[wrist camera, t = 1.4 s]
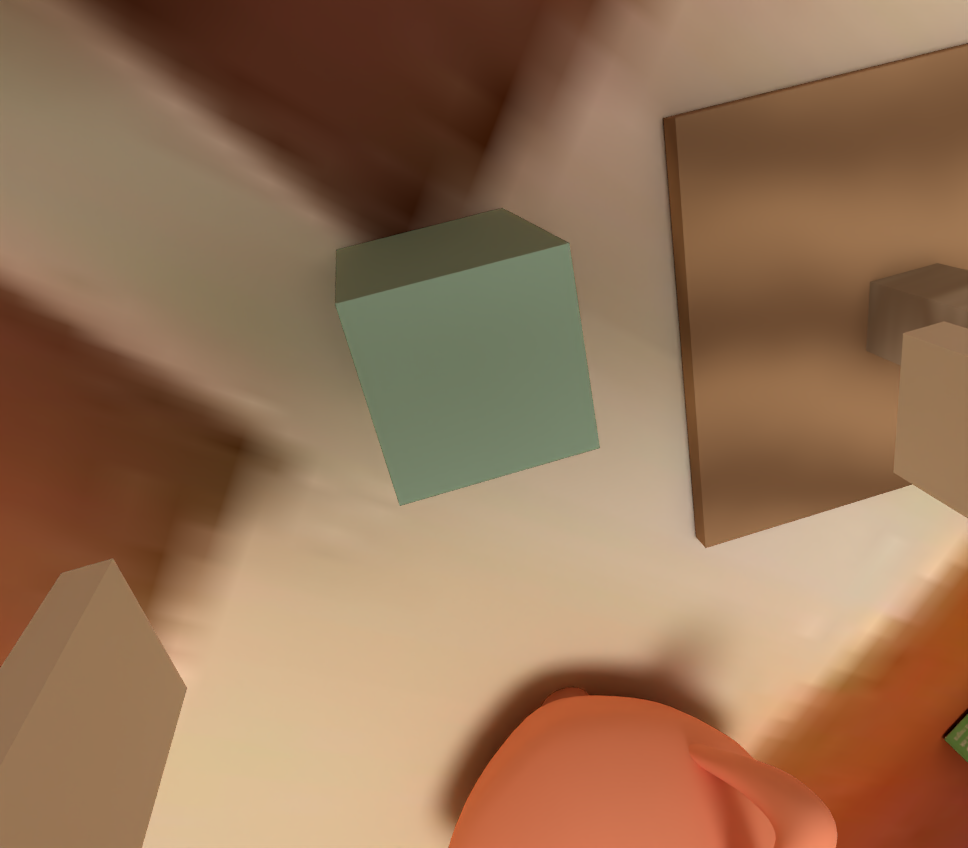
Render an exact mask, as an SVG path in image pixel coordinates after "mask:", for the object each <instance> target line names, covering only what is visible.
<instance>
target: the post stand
mask: <svg viewBox="0 0 968 848" xmlns="http://www.w3.org/2000/svg"><path fill="white" fill-rule="evenodd" d="M663 121H664V134H665V147H666V160H667V172H668V185H669V198H670V211H671V223H672V236H673V249H674V262H675V274H676V287H677V300H678V313H679V325H680V338H681V351H682V364H683V376H684V389H685V402H686V415H687V427H688V440H689V453H690V466H691V478H692V491H693V504H694V517H695V530H696V537H697V538H698V540H699V541H700V542H701V543H702V544H703V545H704V547H705V548H707V547H711V546H714V545H717V544H720V543H724V542H727V541H730V540H733V539H737V538H740V537H743V536H746V535H750V534H753V533H756V532H759V531H762V530H766V529H769V528H772V527H775V526H779V525H782V524H785V523H788V522H792V521H795V520H798V519H801V518H805V517H808V516H811V515H814V514H818V513H821V512H824V511H827V510H831V509H834V508H837V507H840V506H844V505H847V504H850V503H853V502H857V501H860V500H863V499H866V498H870V497H873V496H876V495H879V494H883V493H886V492H889V491H892V490H896V489H899V488H902V487H905V486H909V485H912V484H911V483H910V482H908V481H906V480H905V479H903V478H902V477H900V476H898V475H897V474H895V473H893V472H894V458H895V443H896V429H897V415H898V400H899V386H900V372H901V358H902V343H903V333H905V332H909V331H912V330H916V329H919V328H923V327H926V326H930V325H933V324H937V323H940V322H944V321H945V322H948V323H951V324H955V325H958V326H961V327H964V328H967V329H968V43H967V44H963V45H959V46H955V47H951V48H947V49H943V50H938V51H934V52H930V53H926V54H922V55H918V56H914V57H910V58H906V59H902V60H898V61H894V62H890V63H886V64H882V65H877V66H873V67H869V68H865V69H861V70H857V71H853V72H849V73H845V74H841V75H837V76H833V77H829V78H825V79H821V80H816V81H812V82H808V83H804V84H800V85H796V86H792V87H788V88H784V89H780V90H776V91H772V92H768V93H764V94H760V95H755V96H751V97H747V98H743V99H739V100H735V101H731V102H727V103H723V104H719V105H715V106H711V107H707V108H703V109H699V110H694V111H690V112H686V113H682V114H678V115H674V116H670V117H666V118H663Z"/></svg>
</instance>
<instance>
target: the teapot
mask: <svg viewBox="0 0 968 848" xmlns="http://www.w3.org/2000/svg"><path fill="white" fill-rule="evenodd" d="M836 842H837V830H836V824H835V821H834V819H833V817H832V815H831V813H830V810H829V809H828V808H827V806H826V805H825V804H824V803H823V802H822V800H821V799H820V798H819V797H818V796H817V795H816V794H815V793H813V792H812V791H811V790H810V789H809V788H808V787H807V786H806V785H804V784H803V783H801V782H800V781H799V780H797V779H796V778H795V777H793V776H792V775H790V774H788V773H786V772H784V771H782V770H780V769H778V768H776V767H773V766H771V765H768V764H766V763H763V762H760V761H757V760H754V759H753V758H752V757H751V756H750V755H749V754H748V753H747V752H746V751H745V750H744V749H743V748H742V747H741V746H740V745H739V744H738V743H737V742H735V741H734V740H733V739H731V738H730V737H728V736H727V735H725V734H724V733H722V732H720V731H719V730H717V729H715V728H713V727H712V726H710V725H708V724H706V723H704V722H703V721H701V720H699V719H697V718H695V717H693V716H691V715H688V714H686V713H684V712H682V711H679V710H677V709H675V708H673V707H670V706H667V705H664V704H661V703H658V702H654V701H649V700H645V699H638V698H631V697H620V696H600V695H589V694H588V693H587V692H586V691H584V690H583V689H580V688H576V687H568V688H563V689H560V690H558V691H556V692H554V693H552V694H551V695H550V696H548V697H547V698H546V699H545V701H544V702H543V704H542V706H541V707H540V708H538V709H537V710H535V711H534V712H533V713H532V714H530V715H529V716H528V717H526V718H525V720H524V721H523V722H522V723H521V724H520V725H519V726H518V727H517V728H516V729H515V730H514V731H513V732H512V733H511V735H510V736H509V737H508V738H507V740H506V741H505V742H504V743H503V745H502V746H501V747H500V748H499V750H498V751H497V752H496V754H495V755H494V756H493V758H492V759H491V760H490V762H489V763H488V765H487V766H486V768H485V769H484V771H483V772H482V774H481V776H480V777H479V779H478V780H477V782H476V784H475V786H474V787H473V789H472V791H471V793H470V795H469V796H468V798H467V800H466V803H465V805H464V807H463V810H462V812H461V814H460V817H459V819H458V821H457V824H456V826H455V829H454V832H453V835H452V838H451V841H450V845H449V848H836Z"/></svg>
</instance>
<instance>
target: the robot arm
mask: <svg viewBox="0 0 968 848" xmlns="http://www.w3.org/2000/svg"><path fill="white" fill-rule="evenodd" d="M893 473H895V474H897V475H898V476H900V477H902V478H903V479H905V480H906V481H908V482H910V483H911V484H913V485H915V486H916V487H918V488H919V489H921V490H923V491H924V492H926V493H928V494H929V495H931V496H932V497H934V498H936V499H937V500H939V501H941V502H942V503H944V504H945V505H947V506H949V507H950V508H952V509H954V510H955V511H957V512H958V513H960V514H962V515H963V516H965V517H967V518H968V329H967V328H964V327H961V326H958V325H955V324H951V323H948V322H945V321H944V322H940V323H937V324H933V325H930V326H926V327H923V328H919V329H916V330H912V331H909V332H905V333H903V343H902V358H901V372H900V386H899V400H898V415H897V429H896V443H895V458H894V472H893ZM186 690H187V687H186V685H185V684H184V682H183V680H182V678H181V677H180V675H179V673H178V671H177V670H176V668H175V666H174V664H173V663H172V661H171V659H170V657H169V656H168V654H167V652H166V650H165V649H164V647H163V645H162V643H161V642H160V640H159V638H158V636H157V635H156V633H155V631H154V629H153V628H152V626H151V624H150V622H149V621H148V619H147V617H146V615H145V614H144V612H143V610H142V608H141V607H140V605H139V603H138V601H137V600H136V598H135V596H134V594H133V593H132V591H131V589H130V587H129V586H128V584H127V582H126V580H125V579H124V577H123V575H122V573H121V572H120V570H119V568H118V566H117V565H116V563H115V561H114V559H110V560H106V561H103V562H99V563H96V564H92V565H88V566H85V567H81V568H78V569H74V570H71V571H67V572H64V573H61V575H60V576H59V578H58V579H57V581H56V582H55V584H54V585H53V587H52V589H51V590H50V592H49V593H48V595H47V596H46V598H45V599H44V601H43V603H42V604H41V606H40V607H39V609H38V610H37V612H36V613H35V615H34V616H33V618H32V620H31V621H30V623H29V624H28V626H27V627H26V629H25V630H24V632H23V634H22V635H21V637H20V638H19V640H18V641H17V643H16V644H15V646H14V648H13V649H12V651H11V652H10V654H9V655H8V657H7V658H6V660H5V662H4V663H3V665H2V666H1V668H0V848H142V845H143V841H144V838H145V834H146V831H147V827H148V824H149V820H150V817H151V813H152V810H153V806H154V803H155V799H156V796H157V792H158V788H159V785H160V781H161V778H162V774H163V771H164V767H165V764H166V760H167V757H168V753H169V750H170V746H171V743H172V739H173V736H174V732H175V728H176V725H177V721H178V718H179V714H180V711H181V707H182V704H183V700H184V697H185V693H186Z"/></svg>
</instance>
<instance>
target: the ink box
mask: <svg viewBox="0 0 968 848" xmlns="http://www.w3.org/2000/svg"><path fill="white" fill-rule="evenodd" d="M944 739H945V741H946V742H947V743H948V744H949V745H950V746H951V747H952V748H953V749H955V750H956V751H957V752H958V753H959V754H960V755H961V756H962V757H963V758H964V759H965V760H966V761H967V762H968V714H967V715H966V716H965V717H964V718H963V719H962V720H961V721H960V722H959V723H958V725H957V726H956V727H955V728H954V729H953V730H952V731H951V732H950V733H949V734H948V735H947V736H946V737H945V738H944Z"/></svg>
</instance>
